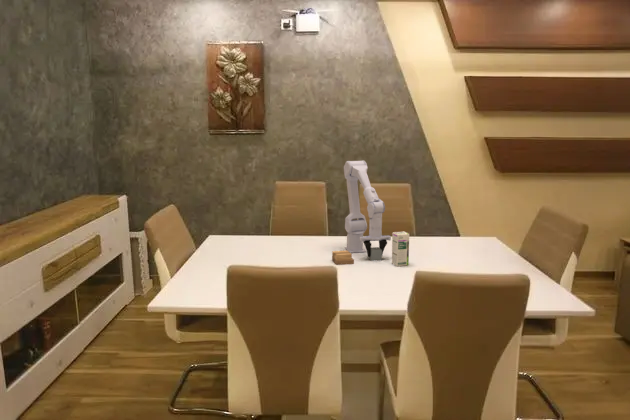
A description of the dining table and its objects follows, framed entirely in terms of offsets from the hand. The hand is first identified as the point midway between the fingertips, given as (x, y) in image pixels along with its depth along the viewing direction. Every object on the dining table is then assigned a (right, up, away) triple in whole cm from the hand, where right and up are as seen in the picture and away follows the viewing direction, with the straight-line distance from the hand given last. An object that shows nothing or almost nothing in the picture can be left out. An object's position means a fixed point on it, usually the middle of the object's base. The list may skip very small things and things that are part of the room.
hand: (374, 256), depth 251 cm
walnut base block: (-15, -3, -5) cm, 16 cm away
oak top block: (-15, 0, -6) cm, 17 cm away
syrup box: (+10, -3, -8) cm, 14 cm away
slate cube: (0, -2, 0) cm, 2 cm away
